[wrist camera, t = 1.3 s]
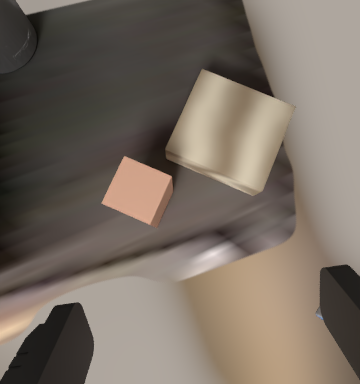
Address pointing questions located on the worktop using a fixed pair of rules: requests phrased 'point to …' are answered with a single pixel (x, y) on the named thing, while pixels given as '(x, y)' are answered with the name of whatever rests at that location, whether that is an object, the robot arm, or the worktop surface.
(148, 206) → the terracotta block
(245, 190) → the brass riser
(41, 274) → the worktop surface
